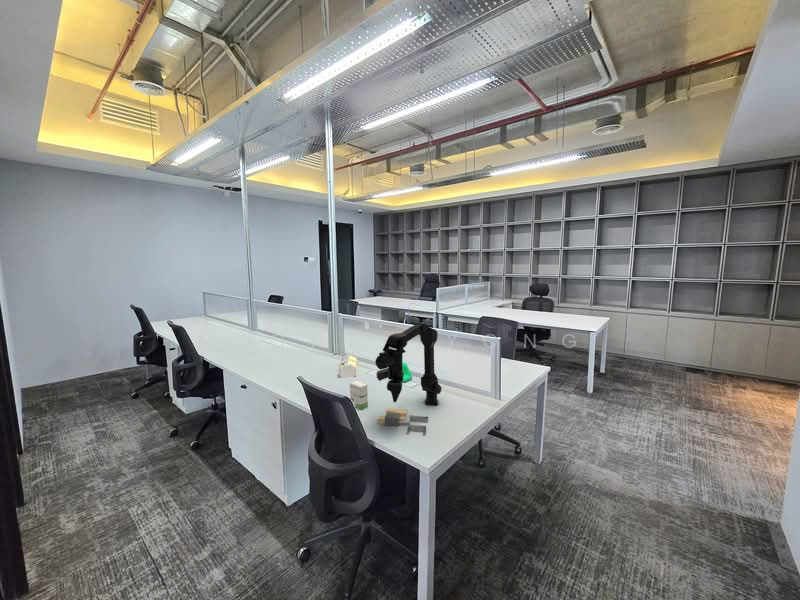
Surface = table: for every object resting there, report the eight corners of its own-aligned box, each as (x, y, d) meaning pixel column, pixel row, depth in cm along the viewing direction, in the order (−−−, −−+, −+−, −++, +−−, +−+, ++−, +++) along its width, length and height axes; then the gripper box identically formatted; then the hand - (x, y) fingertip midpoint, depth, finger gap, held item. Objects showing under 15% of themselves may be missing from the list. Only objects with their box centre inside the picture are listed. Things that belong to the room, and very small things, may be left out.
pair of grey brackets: (411, 416, 154) (411, 412, 153) (428, 418, 152) (428, 414, 152) (406, 433, 138) (406, 429, 138) (425, 435, 137) (425, 431, 137)
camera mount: (389, 379, 203) (389, 363, 202) (397, 375, 209) (397, 360, 208) (404, 383, 196) (404, 367, 195) (412, 380, 202) (412, 364, 201)
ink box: (368, 407, 164) (368, 384, 162) (360, 410, 160) (360, 387, 159) (357, 401, 170) (357, 380, 168) (349, 404, 166) (349, 382, 165)
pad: (387, 409, 162) (387, 408, 162) (407, 410, 160) (407, 409, 160) (383, 418, 152) (383, 417, 152) (404, 420, 150) (404, 419, 150)
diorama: (342, 365, 230) (342, 347, 228) (357, 365, 231) (357, 347, 229) (339, 378, 205) (338, 357, 203) (355, 377, 206) (355, 357, 204)
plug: (379, 420, 150) (379, 412, 150) (410, 422, 148) (410, 414, 147) (377, 425, 146) (377, 416, 145) (409, 427, 143) (409, 419, 143)
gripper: (380, 357, 153) (380, 389, 155) (374, 370, 135) (374, 406, 136) (403, 358, 153) (403, 390, 154) (401, 370, 134) (401, 407, 136)
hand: (395, 397), depth 145 cm, fingers open, 9 cm apart
